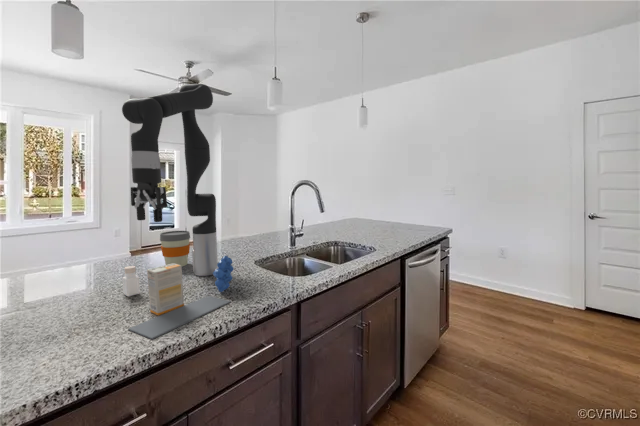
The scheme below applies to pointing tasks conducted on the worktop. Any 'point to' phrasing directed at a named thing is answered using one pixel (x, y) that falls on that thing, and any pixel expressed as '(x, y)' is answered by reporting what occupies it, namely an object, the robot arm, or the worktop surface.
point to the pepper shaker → (131, 281)
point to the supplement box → (165, 288)
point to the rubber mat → (178, 317)
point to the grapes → (223, 273)
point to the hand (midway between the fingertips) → (149, 221)
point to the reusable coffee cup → (175, 247)
